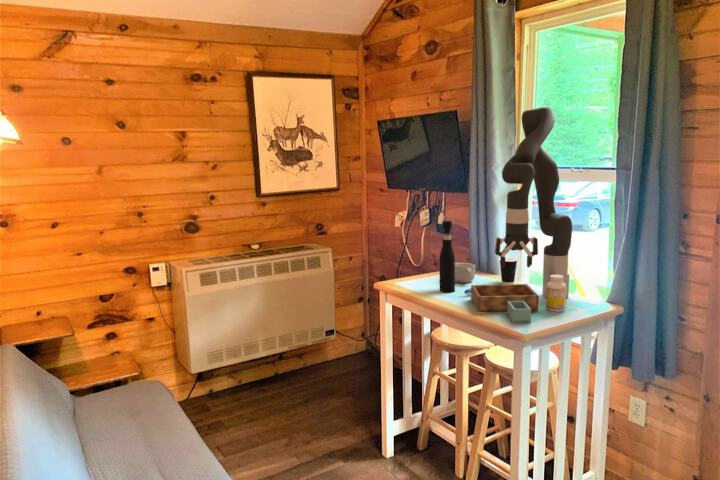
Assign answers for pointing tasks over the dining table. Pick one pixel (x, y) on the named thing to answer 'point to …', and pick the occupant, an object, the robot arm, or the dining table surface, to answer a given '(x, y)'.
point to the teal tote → (518, 312)
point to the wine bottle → (447, 261)
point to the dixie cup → (508, 270)
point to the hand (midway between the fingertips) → (515, 266)
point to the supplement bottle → (556, 294)
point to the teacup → (464, 272)
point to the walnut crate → (502, 297)
